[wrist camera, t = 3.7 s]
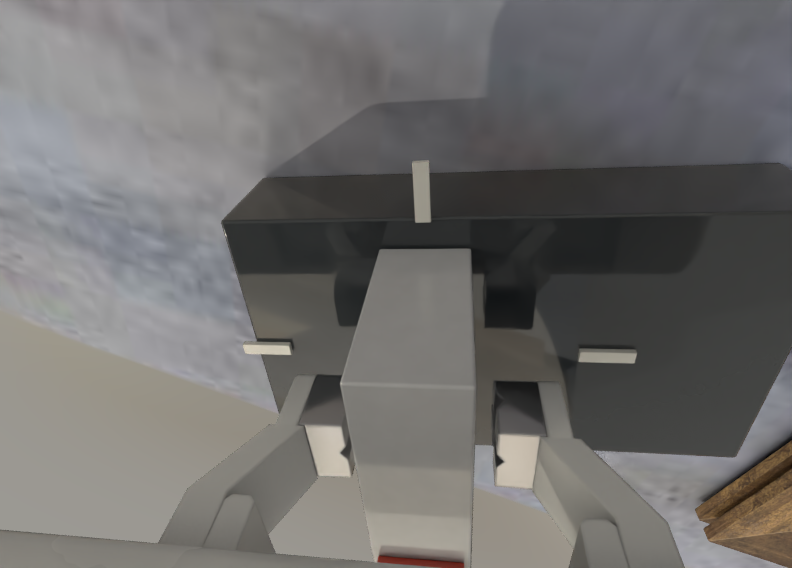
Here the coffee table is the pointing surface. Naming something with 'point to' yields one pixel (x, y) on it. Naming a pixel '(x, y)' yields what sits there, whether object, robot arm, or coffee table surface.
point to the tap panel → (549, 286)
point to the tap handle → (415, 407)
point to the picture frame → (755, 511)
